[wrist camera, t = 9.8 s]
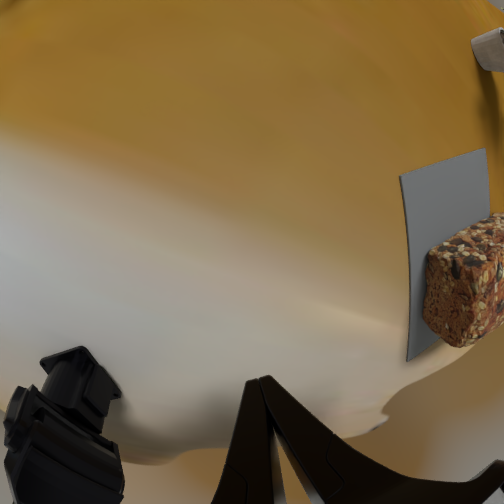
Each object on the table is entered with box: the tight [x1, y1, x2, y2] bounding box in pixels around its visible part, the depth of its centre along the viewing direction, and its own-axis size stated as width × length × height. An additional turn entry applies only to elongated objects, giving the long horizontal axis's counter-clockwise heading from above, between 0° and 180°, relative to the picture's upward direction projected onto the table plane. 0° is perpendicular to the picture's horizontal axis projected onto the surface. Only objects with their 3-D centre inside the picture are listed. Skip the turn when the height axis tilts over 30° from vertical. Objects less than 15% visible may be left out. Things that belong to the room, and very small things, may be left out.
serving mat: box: [399, 148, 490, 362], centre depth 26 cm, size 18×24×1 cm
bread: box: [422, 212, 504, 348], centre depth 22 cm, size 19×11×10 cm, turn 105°
